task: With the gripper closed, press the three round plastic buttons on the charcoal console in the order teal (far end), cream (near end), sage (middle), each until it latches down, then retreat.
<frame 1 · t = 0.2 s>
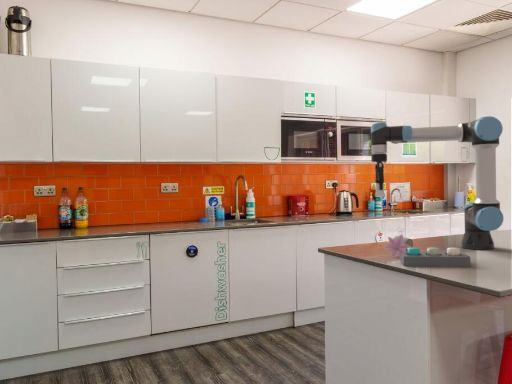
hand: (379, 196, 218), 28 cm above the countertop, fingers open, 13 cm apart
console: (433, 263, 186), on the countertop
teal button: (413, 252, 187), point 5 cm above the countertop, slide at 0.0 cm
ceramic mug: (403, 251, 218), on the countertop
sage button: (433, 253, 186), point 5 cm above the countertop, slide at 0.0 cm
cream button: (453, 253, 184), point 5 cm above the countertop, slide at 0.0 cm
lily: (397, 257, 204), on the countertop
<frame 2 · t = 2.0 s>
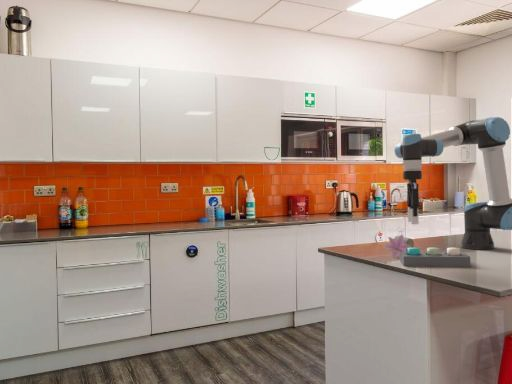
hand: (413, 223, 187), 17 cm above the countertop, fingers open, 9 cm apart
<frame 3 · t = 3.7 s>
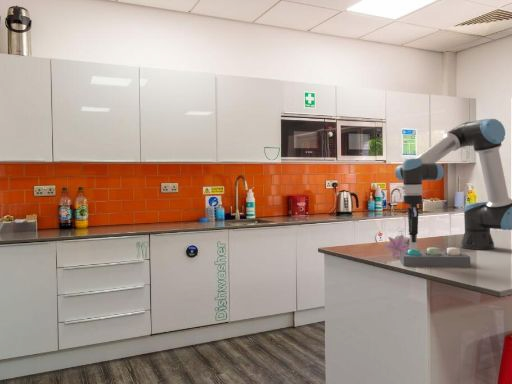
hand: (413, 249, 187), 6 cm above the countertop, fingers closed
teal button: (413, 254, 187), point 4 cm above the countertop, slide at 0.8 cm
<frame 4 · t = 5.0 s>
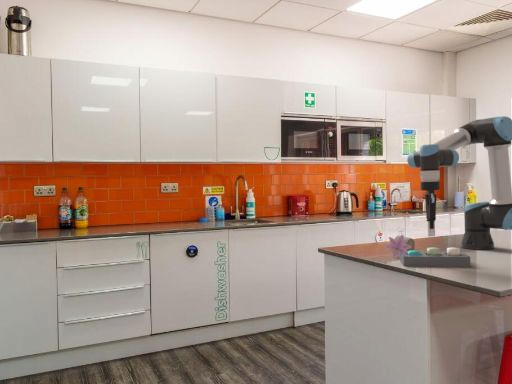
hand: (431, 236, 186), 12 cm above the countertop, fingers closed
teal button: (413, 255, 187), point 3 cm above the countertop, slide at 1.3 cm
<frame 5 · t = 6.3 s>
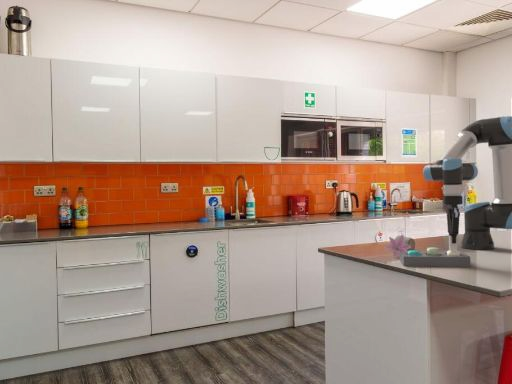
hand: (453, 250, 184), 6 cm above the countertop, fingers closed
cream button: (453, 256, 184), point 3 cm above the countertop, slide at 1.2 cm, touching gripper
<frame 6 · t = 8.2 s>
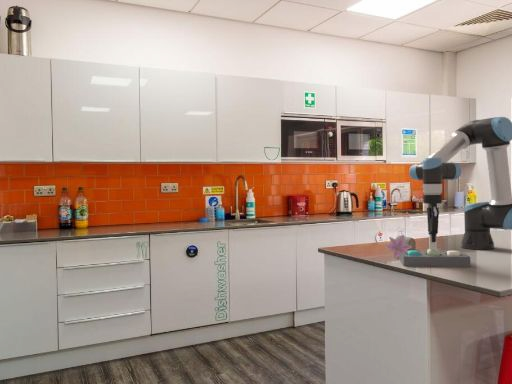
hand: (433, 249, 186), 6 cm above the countertop, fingers closed
sage button: (433, 254, 186), point 4 cm above the countertop, slide at 0.7 cm, touching gripper
cream button: (453, 256, 184), point 3 cm above the countertop, slide at 1.3 cm
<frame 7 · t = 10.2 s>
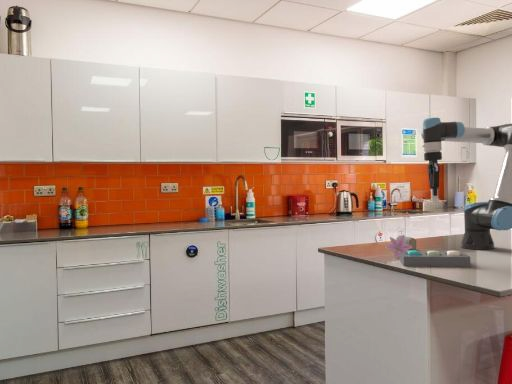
hand: (434, 202, 202), 25 cm above the countertop, fingers closed
sage button: (433, 256, 186), point 3 cm above the countertop, slide at 1.3 cm
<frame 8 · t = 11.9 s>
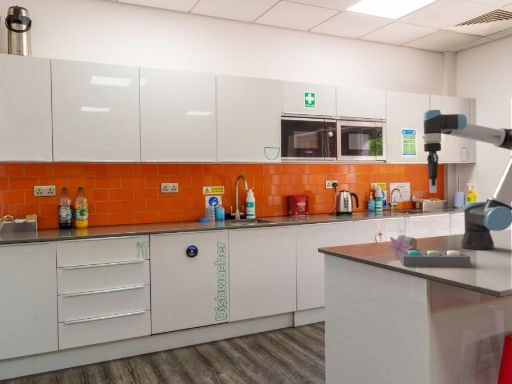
hand: (433, 192, 208), 29 cm above the countertop, fingers closed
at the end: teal button slide at 1.3 cm; cream button slide at 1.3 cm; sage button slide at 1.3 cm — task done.
